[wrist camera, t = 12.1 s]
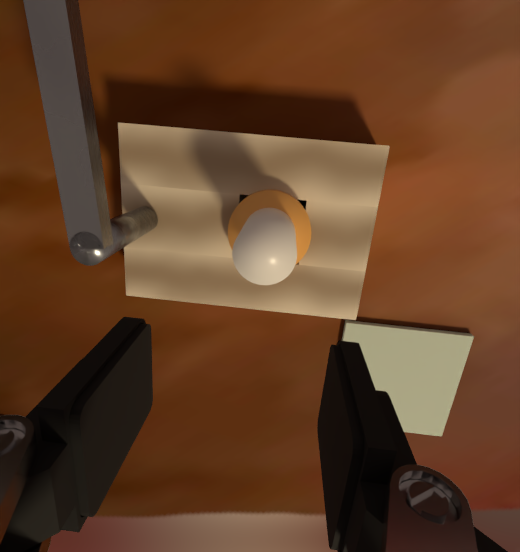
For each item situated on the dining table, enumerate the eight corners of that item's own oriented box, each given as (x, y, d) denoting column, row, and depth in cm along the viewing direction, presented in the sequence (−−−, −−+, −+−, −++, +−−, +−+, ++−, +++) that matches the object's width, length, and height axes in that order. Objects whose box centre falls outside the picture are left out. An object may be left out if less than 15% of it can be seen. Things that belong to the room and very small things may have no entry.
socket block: (348, 301, 35) (355, 320, 31) (143, 279, 35) (126, 295, 32) (376, 146, 30) (389, 145, 26) (138, 125, 31) (117, 122, 27)
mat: (439, 432, 39) (441, 436, 38) (327, 418, 39) (327, 422, 39) (470, 333, 35) (473, 336, 34) (345, 319, 35) (346, 322, 35)
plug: (303, 258, 33) (309, 307, 23) (234, 251, 34) (211, 297, 24) (312, 187, 31) (323, 207, 21) (238, 181, 31) (215, 197, 21)
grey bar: (159, 231, 29) (106, 265, 21) (135, 230, 29) (73, 265, 21) (135, -8, 24) (51, -91, 15) (105, -7, 24) (6, -89, 16)
